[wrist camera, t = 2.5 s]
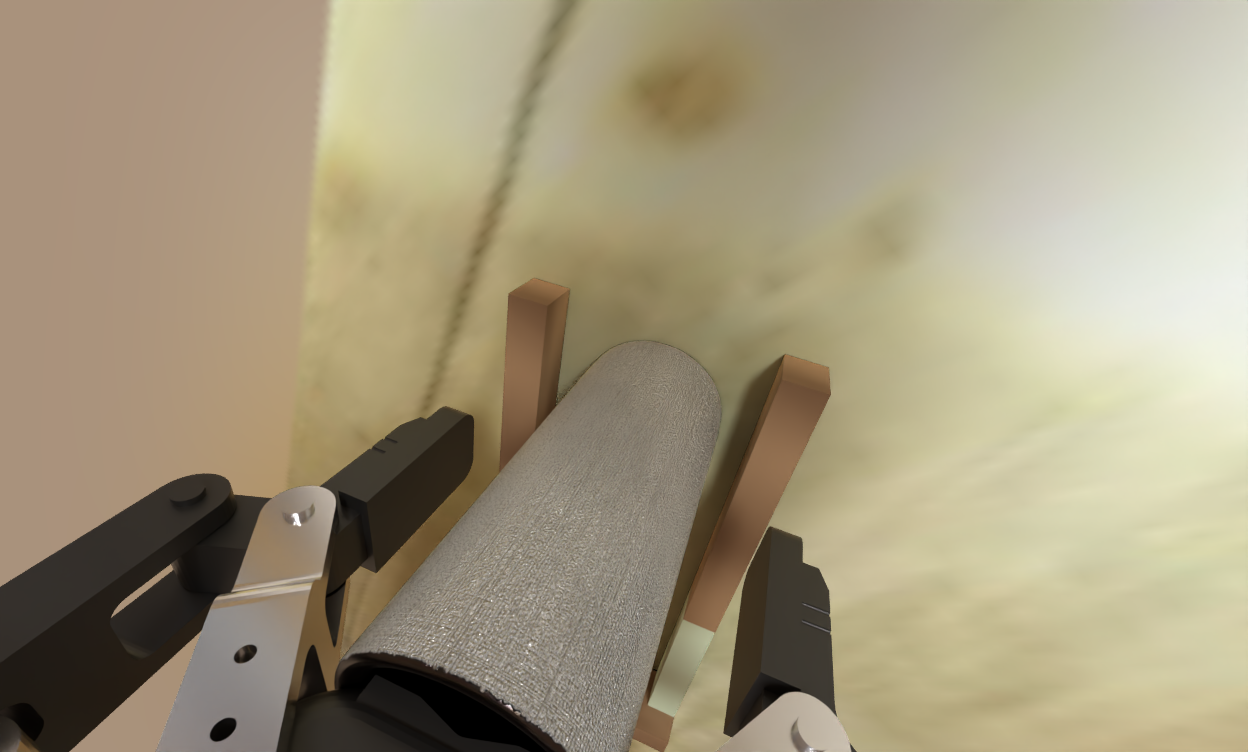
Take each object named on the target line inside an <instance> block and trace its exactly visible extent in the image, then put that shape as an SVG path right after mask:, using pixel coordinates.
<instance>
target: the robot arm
mask: <svg viewBox="0 0 1248 752" xmlns="http://www.w3.org/2000/svg"><path fill="white" fill-rule="evenodd" d="M473 446H474V419H473V417H472V416H471V415H469V414H467V413H464V412H461V411H458V410H456V409H453V408H450V407H447V406H445V407H442V408H440V409H439V410H438V411H437V412H435V413H434V414H433V415H432V416H430V417H429V418H428V419H424V418H421V417H420V418H418V419H415V420H412V421H410V422H407V423H405V424H402V425H400V426H399V427H397V428H396V429H395V430H394V431H392V432H391V433H390V434H388V435H387V436H386V437H385V439H384V440H383V439H382V440H380V441H379V442H378V443H376V444H375V445H374V446H373V448H372V449H369V450H367V451H366V452H365V453H363V454H362V455H361V456H359V457H358V458H357V459H355V460H354V461H353V462H351V463H350V464H349V465H348V466H346V467H345V468H344V469H342V470H341V471H340V472H338V473H337V474H336V475H334V476H333V477H332V478H330V479H329V480H328V481H327V482H325V483H324V484H322V485H321V486H320V487H319V486H301V487H296V488H292V489H289V490H286V491H284V492H282V493H280V494H278V495H276V496H275V497H273V498H263V497H253V496H243V495H234V494H233V491H232V488H231V485H230V483H229V481H228V480H227V479H226V478H224V477H222V476H220V475H216V474H195V475H190V476H186V477H182V478H180V479H177V480H174V481H172V482H170V483H168V484H166V485H164V486H162V487H161V488H159V489H158V490H156V491H154V492H153V493H151V494H149V495H148V496H146V497H144V498H143V499H141V500H140V501H138V502H136V503H135V504H133V505H132V506H130V507H128V508H127V509H125V510H124V511H122V512H120V513H119V514H117V515H115V516H114V517H112V518H111V519H109V520H107V521H106V522H104V523H103V524H101V525H99V526H98V527H96V528H94V529H93V530H91V531H90V532H88V533H86V534H85V535H83V536H81V537H80V538H78V539H77V540H75V541H73V542H72V543H70V544H69V545H67V546H65V547H64V548H62V549H61V550H59V551H57V552H56V553H54V554H53V555H51V556H49V557H48V558H46V559H44V560H43V561H41V562H40V563H38V564H36V565H35V566H33V567H31V568H30V569H28V570H27V571H25V572H24V573H22V574H20V575H19V576H17V577H15V578H14V579H12V580H10V581H9V582H8V583H6V584H4V585H2V586H1V587H0V752H69V751H70V750H72V749H73V748H74V747H75V746H76V745H77V744H78V743H79V742H80V741H81V740H83V739H84V738H85V737H86V736H87V735H88V734H89V733H90V732H91V731H92V730H93V729H95V728H96V727H97V726H98V725H99V724H100V723H101V722H102V721H103V720H104V719H105V718H107V717H108V716H109V715H110V714H111V713H112V712H113V711H114V710H115V709H116V708H117V707H119V706H120V705H121V704H122V703H123V702H124V701H125V700H126V699H127V698H128V697H130V696H131V695H132V694H133V693H134V692H135V691H136V690H137V689H138V688H139V687H140V686H142V685H143V684H144V683H145V682H146V681H147V680H148V679H149V678H150V677H151V676H152V675H153V674H155V673H156V672H157V671H158V670H159V669H160V668H161V667H162V666H163V665H164V664H165V663H167V662H168V661H169V660H170V659H171V658H172V657H173V656H174V655H175V654H176V653H177V652H178V651H180V650H181V649H182V648H183V647H184V646H185V645H186V644H187V643H188V642H190V641H191V640H192V639H193V638H194V637H195V636H196V635H197V634H198V633H199V632H200V631H201V634H200V636H199V639H198V642H197V644H196V647H195V649H194V652H193V655H192V658H191V661H190V663H189V665H188V668H187V670H186V673H185V676H184V678H183V681H182V684H181V686H180V689H179V691H178V694H177V697H176V700H175V702H174V705H173V707H172V710H171V712H170V715H169V718H168V720H167V723H166V726H165V728H164V731H163V733H162V736H161V739H160V741H159V744H158V747H157V749H156V752H529V751H527V750H525V749H523V748H522V747H520V746H516V745H509V744H503V743H496V742H489V741H483V740H476V739H470V738H464V737H461V736H459V735H457V734H456V733H455V732H454V731H453V730H452V729H451V728H450V727H449V726H448V725H447V724H446V723H445V722H444V721H443V720H442V719H441V718H440V717H439V716H438V714H437V713H436V712H435V711H434V710H433V709H432V708H431V707H430V706H429V705H428V704H427V703H426V702H425V701H424V700H423V699H422V698H421V697H420V696H418V695H416V694H414V693H412V692H410V691H408V690H406V689H404V688H402V687H400V686H398V685H396V684H394V683H392V682H390V681H388V680H386V679H384V678H382V677H380V676H378V675H375V676H374V677H373V679H372V680H371V681H370V682H369V684H368V685H367V686H366V688H365V689H361V688H346V689H338V690H335V686H334V677H335V672H336V668H337V666H338V664H339V662H340V653H341V646H342V639H343V631H344V624H345V617H346V610H347V603H348V596H349V589H350V576H351V575H352V574H353V573H354V572H355V571H356V570H357V569H358V568H359V567H360V566H362V567H364V568H366V569H368V570H370V571H373V572H375V573H377V572H378V571H379V570H380V569H381V568H382V567H383V566H384V564H385V563H386V562H387V561H388V560H389V559H390V558H391V557H392V556H393V555H394V554H395V553H396V552H397V551H398V550H399V549H400V547H401V546H402V545H403V544H404V543H405V542H406V541H407V540H408V539H409V538H410V537H411V536H412V535H413V534H414V533H415V532H416V530H417V529H418V528H419V527H420V526H421V525H422V524H423V523H424V522H425V521H426V520H427V519H428V518H429V517H430V516H431V515H432V513H433V512H434V511H435V510H436V509H437V508H438V507H439V506H440V505H441V504H442V503H443V502H444V501H445V500H446V499H447V497H448V496H449V495H450V494H451V493H452V492H453V491H454V490H455V489H456V488H457V487H458V486H459V485H460V484H461V483H462V482H463V480H464V479H465V478H466V476H467V475H468V473H469V471H470V469H471V466H472V463H473ZM170 564H171V565H172V567H173V569H174V570H173V571H172V572H170V573H169V574H168V575H166V576H165V577H164V578H162V579H161V580H160V581H159V582H158V583H156V584H155V585H153V586H152V587H151V588H150V589H148V590H147V591H146V592H144V593H143V594H142V595H141V596H139V597H138V598H137V599H135V600H134V601H133V602H132V603H130V604H129V605H127V606H126V607H125V608H124V609H122V610H121V611H120V612H119V613H117V614H116V615H114V616H113V617H112V618H111V616H112V614H113V612H114V610H115V609H116V607H117V606H118V605H119V604H120V603H121V602H122V601H123V600H124V599H125V598H127V597H128V596H129V595H130V594H132V593H133V592H134V591H136V590H137V589H138V588H140V587H141V586H142V585H144V584H145V583H146V582H148V581H149V580H150V579H152V578H153V577H154V576H155V575H157V574H158V573H159V572H161V571H162V570H163V569H165V568H166V567H167V566H169V565H170ZM829 614H830V601H829V590H828V588H827V585H826V583H825V581H824V579H823V577H822V574H821V572H820V570H819V569H818V568H816V567H813V566H810V565H808V564H805V563H803V542H802V538H801V537H798V536H795V535H792V534H790V533H787V532H784V531H782V530H779V529H776V528H773V527H769V528H768V530H767V531H766V533H765V535H764V538H763V540H762V542H761V544H760V546H759V548H758V550H757V552H756V554H755V556H754V558H753V560H752V562H751V565H750V567H749V569H748V572H747V575H746V578H745V582H744V586H743V591H742V598H741V605H740V613H739V620H738V628H737V635H736V643H735V650H734V658H733V665H732V673H731V680H730V688H729V695H728V703H727V711H726V718H725V726H724V734H726V735H728V736H730V737H732V738H731V739H730V740H729V741H727V742H726V743H725V744H724V745H723V746H721V747H720V748H719V749H718V750H717V751H715V752H856V751H855V749H854V748H853V747H852V745H851V744H850V742H849V740H848V737H847V734H846V732H845V730H844V728H843V726H842V724H841V723H840V721H839V719H838V718H837V714H836V710H835V701H834V681H833V661H832V641H831V635H830V632H831V621H830V617H829Z"/></svg>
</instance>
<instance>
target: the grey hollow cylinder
mask: <svg viewBox="0 0 1248 752" xmlns="http://www.w3.org/2000/svg"><path fill="white" fill-rule="evenodd" d="M720 422H721V401H720V397H719V394H718V391H717V389H716V386H715V384H714V382H713V381H712V379H711V377H710V376H709V374H708V373H707V372H706V371H705V370H704V368H703V367H702V366H701V365H700V364H699V363H698V362H697V361H695V360H694V359H693V358H691V357H690V356H689V355H687V354H686V353H684V352H682V351H680V350H678V349H677V348H674V347H672V346H669V345H666V344H662V343H658V342H653V341H632V342H627V343H623V344H620V345H617V346H615V347H613V348H611V349H610V350H608V351H607V352H605V353H604V354H603V355H602V356H600V357H599V358H598V359H597V360H596V361H595V362H594V363H593V364H592V365H591V366H590V367H589V369H588V370H587V371H586V372H585V373H584V374H583V376H582V377H581V378H580V379H579V380H578V381H577V383H576V384H575V385H574V386H573V387H572V388H571V390H570V391H569V392H568V393H567V394H566V396H565V397H564V398H563V399H562V400H561V401H560V403H559V404H558V405H557V406H556V407H555V408H554V410H553V411H552V412H551V413H550V414H549V415H548V417H547V418H546V419H545V420H544V421H543V422H542V424H541V425H540V426H539V427H538V428H537V429H536V431H535V432H534V433H533V434H532V435H531V437H530V438H529V439H528V440H527V441H526V442H525V444H524V445H523V446H522V447H521V448H520V449H519V451H518V452H517V453H516V454H515V455H514V456H513V458H512V459H511V460H510V461H509V462H508V463H507V465H506V466H505V467H504V468H503V469H502V470H501V472H500V473H499V474H498V475H497V476H496V477H495V479H494V480H493V481H492V482H491V483H490V485H489V486H488V487H487V488H486V489H485V490H484V492H483V493H482V494H481V495H480V496H479V497H478V499H477V500H476V501H475V502H474V503H473V504H472V506H471V507H470V508H469V509H468V510H467V511H466V513H465V514H464V515H463V516H462V517H461V518H460V520H459V521H458V522H457V523H456V524H455V526H454V527H453V528H452V529H451V530H450V531H449V533H448V534H447V535H446V536H445V537H444V538H443V540H442V541H441V542H440V543H439V544H438V545H437V547H436V548H435V549H434V550H433V551H432V552H431V554H430V555H429V556H428V557H427V558H426V559H425V561H424V562H423V563H422V564H421V565H420V566H419V568H418V569H417V570H416V571H415V572H414V574H413V575H412V576H411V577H410V578H409V579H408V581H407V582H406V583H405V584H404V585H403V586H402V588H401V589H400V590H399V591H398V592H397V593H396V595H395V596H394V597H393V598H392V599H391V600H390V602H389V603H388V604H387V605H386V606H385V607H384V609H383V610H382V611H381V612H380V613H379V615H378V616H377V617H376V618H375V619H374V620H373V622H372V623H371V624H370V625H369V626H368V627H367V629H366V630H365V631H364V632H363V633H362V635H361V636H360V637H359V638H358V639H357V640H356V642H355V643H354V644H353V645H352V646H351V648H350V649H349V650H348V651H347V652H346V654H345V655H344V656H343V657H342V659H341V660H340V662H339V664H338V666H337V668H336V672H335V677H334V686H335V690H338V689H346V688H361V689H365V688H366V686H367V685H368V684H369V682H370V681H371V680H372V679H373V677H374V676H375V675H378V676H380V677H382V678H384V679H386V680H388V681H390V682H392V683H394V684H396V685H398V686H400V687H402V688H404V689H406V690H408V691H410V692H412V693H414V694H416V695H418V696H420V697H421V698H422V699H423V700H424V701H425V702H426V703H427V704H428V705H429V706H430V707H431V708H432V709H433V710H434V711H435V712H436V713H437V714H438V716H439V717H440V718H441V719H442V720H443V721H444V722H445V723H446V724H447V725H448V726H449V727H450V728H451V729H452V730H453V731H454V732H455V733H456V734H457V735H459V736H461V737H464V738H470V739H476V740H483V741H489V742H496V743H503V744H509V745H516V746H520V747H522V748H523V749H525V750H527V751H529V752H629V749H630V745H631V741H632V738H633V734H634V731H635V727H636V724H637V720H638V717H639V713H640V710H641V706H642V702H643V699H644V695H645V692H646V688H647V685H648V681H649V678H650V674H651V671H652V667H653V664H654V660H655V656H656V653H657V649H658V646H659V642H660V639H661V635H662V632H663V628H664V625H665V621H666V618H667V614H668V610H669V607H670V603H671V600H672V596H673V593H674V589H675V586H676V582H677V579H678V575H679V571H680V568H681V564H682V561H683V557H684V554H685V550H686V547H687V543H688V540H689V536H690V533H691V529H692V525H693V522H694V518H695V515H696V511H697V508H698V504H699V501H700V497H701V494H702V490H703V486H704V483H705V479H706V476H707V472H708V469H709V465H710V462H711V458H712V455H713V451H714V448H715V444H716V440H717V437H718V433H719V428H720Z"/></svg>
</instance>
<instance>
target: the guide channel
mask: <svg viewBox="0 0 1248 752" xmlns="http://www.w3.org/2000/svg"><path fill="white" fill-rule="evenodd" d="M569 291H570V289H568V288H565V287H562V286H558V285H555V284H552V283H548V282H545V281H542V280H539V279H535V278H533V279H532V280H530V281H528V282H527V283H525V284H524V285H522V286H520V287H519V288H517V289H515V290H514V291H512V292H510V293H509V296H508V315H507V335H506V354H505V373H504V393H503V412H502V431H501V451H500V470H499V473H500V472H501V470H502V469H503V468H504V467H505V466H506V465H507V463H508V462H509V461H510V460H511V459H512V458H513V456H514V455H515V454H516V453H517V452H518V451H519V449H520V448H521V447H522V446H523V445H524V444H525V442H526V441H527V440H528V439H529V438H530V437H531V435H532V434H533V433H534V432H535V431H536V429H537V428H538V427H539V426H540V425H541V424H542V422H543V421H544V420H545V419H546V418H547V417H548V415H549V414H550V413H551V412H552V411H553V410H554V408H555V406H556V397H557V389H558V381H559V373H560V365H561V357H562V349H563V340H564V332H565V324H566V316H567V308H568V300H569ZM830 395H831V391H830V377H829V368H828V367H825V366H822V365H819V364H815V363H812V362H809V361H805V360H802V359H799V358H796V357H792V356H789V355H786V354H785V355H784V357H783V360H782V362H781V365H780V367H779V370H778V372H777V375H776V377H775V380H774V382H773V385H772V387H771V390H770V392H769V395H768V397H767V400H766V402H765V405H764V407H763V409H762V412H761V414H760V417H759V419H758V422H757V424H756V427H755V429H754V432H753V434H752V437H751V439H750V442H749V444H748V447H747V449H746V452H745V454H744V457H743V459H742V462H741V464H740V467H739V469H738V471H737V474H736V476H735V479H734V481H733V484H732V486H731V489H730V491H729V494H728V496H727V499H726V501H725V504H724V506H723V509H722V511H721V514H720V516H719V519H718V521H717V524H716V526H715V529H714V531H713V533H712V536H711V538H710V541H709V543H708V546H707V548H706V551H705V553H704V556H703V558H702V561H701V563H700V566H699V568H698V571H697V573H696V576H695V578H694V581H693V583H692V586H691V588H690V590H689V593H688V595H687V598H686V600H685V603H684V605H683V608H682V610H681V613H680V615H679V618H678V620H677V623H676V625H675V628H674V630H673V633H672V635H671V638H670V640H669V643H668V645H667V648H666V650H665V652H664V655H663V657H662V660H661V662H660V665H659V667H658V670H657V672H656V671H654V670H652V671H651V674H650V678H649V681H648V685H647V688H646V692H645V695H644V699H643V702H642V706H641V710H640V713H639V717H638V720H637V724H636V727H635V731H634V734H633V739H635V740H637V741H639V742H641V743H643V744H646V745H648V746H650V747H652V748H654V749H656V750H658V751H660V752H664V750H665V748H666V746H667V744H668V742H669V737H670V733H671V728H672V724H673V719H674V716H675V714H676V712H677V710H678V708H679V706H680V704H681V702H682V700H683V698H684V696H685V694H686V692H687V689H688V687H689V685H690V683H691V681H692V679H693V677H694V675H695V673H696V671H697V669H698V667H699V665H700V663H701V661H702V659H703V657H704V654H705V652H706V650H707V648H708V646H709V644H710V642H711V640H712V638H713V636H714V634H715V632H716V630H717V628H718V626H719V624H720V622H721V619H722V617H723V615H724V613H725V611H726V609H727V607H728V605H729V603H730V601H731V599H732V597H733V595H734V593H735V591H736V589H737V587H738V585H739V582H740V580H741V578H742V576H743V574H744V572H745V570H746V568H747V566H748V564H749V562H750V560H751V558H752V556H753V554H754V552H755V550H756V547H757V545H758V543H759V541H760V539H761V537H762V535H763V533H764V531H765V529H766V527H767V525H768V523H769V521H770V519H771V517H772V515H773V512H774V510H775V508H776V506H777V504H778V502H779V500H780V498H781V496H782V494H783V492H784V490H785V488H786V486H787V484H788V482H789V480H790V477H791V475H792V473H793V471H794V469H795V467H796V465H797V463H798V461H799V459H800V457H801V455H802V453H803V451H804V449H805V447H806V445H807V443H808V440H809V438H810V436H811V434H812V432H813V430H814V428H815V426H816V424H817V422H818V420H819V418H820V416H821V414H822V412H823V410H824V408H825V405H826V403H827V401H828V399H829V397H830Z"/></svg>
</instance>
